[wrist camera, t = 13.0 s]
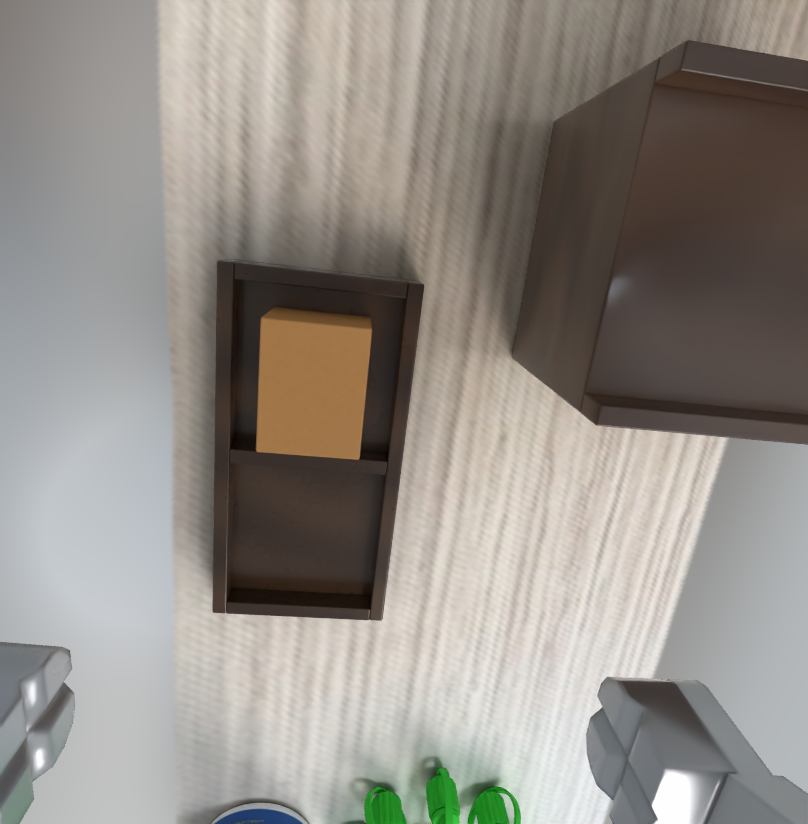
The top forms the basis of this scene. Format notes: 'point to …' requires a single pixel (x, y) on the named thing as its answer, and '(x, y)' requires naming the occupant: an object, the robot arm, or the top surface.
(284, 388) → the cardboard-colored box
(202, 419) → the top surface
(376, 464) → the shelf
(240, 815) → the beverage bottle
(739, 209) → the cubby
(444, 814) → the chandelier
